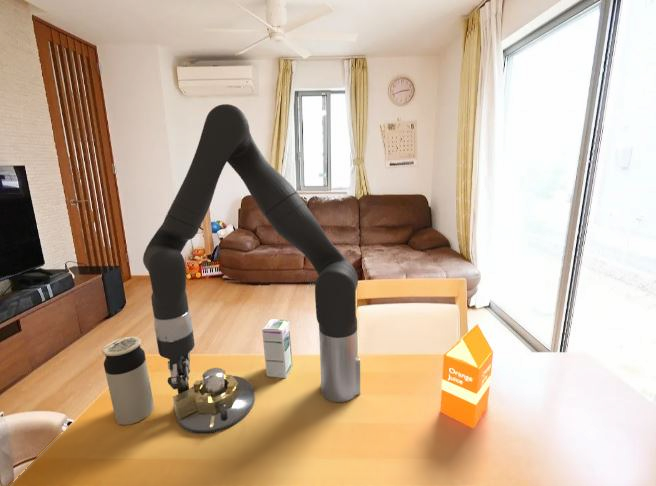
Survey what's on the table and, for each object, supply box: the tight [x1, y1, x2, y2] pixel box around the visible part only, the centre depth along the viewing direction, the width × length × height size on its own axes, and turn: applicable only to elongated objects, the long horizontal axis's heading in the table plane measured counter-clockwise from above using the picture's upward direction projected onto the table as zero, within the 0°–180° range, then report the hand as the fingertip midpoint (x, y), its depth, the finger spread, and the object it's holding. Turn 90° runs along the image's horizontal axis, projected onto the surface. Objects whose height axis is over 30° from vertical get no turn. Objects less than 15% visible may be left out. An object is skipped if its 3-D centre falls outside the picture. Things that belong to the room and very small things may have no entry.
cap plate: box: [175, 367, 256, 435], centre depth 80 cm, size 18×18×8 cm
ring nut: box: [172, 370, 239, 420], centre depth 79 cm, size 14×10×4 cm
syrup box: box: [261, 318, 293, 379], centre depth 91 cm, size 6×6×14 cm
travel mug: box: [101, 336, 155, 426], centre depth 77 cm, size 8×8×18 cm
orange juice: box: [440, 323, 494, 429], centre depth 75 cm, size 8×9×20 cm
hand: (184, 396), depth 79 cm, fingers closed
